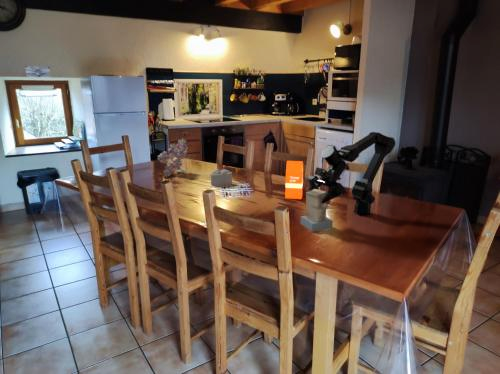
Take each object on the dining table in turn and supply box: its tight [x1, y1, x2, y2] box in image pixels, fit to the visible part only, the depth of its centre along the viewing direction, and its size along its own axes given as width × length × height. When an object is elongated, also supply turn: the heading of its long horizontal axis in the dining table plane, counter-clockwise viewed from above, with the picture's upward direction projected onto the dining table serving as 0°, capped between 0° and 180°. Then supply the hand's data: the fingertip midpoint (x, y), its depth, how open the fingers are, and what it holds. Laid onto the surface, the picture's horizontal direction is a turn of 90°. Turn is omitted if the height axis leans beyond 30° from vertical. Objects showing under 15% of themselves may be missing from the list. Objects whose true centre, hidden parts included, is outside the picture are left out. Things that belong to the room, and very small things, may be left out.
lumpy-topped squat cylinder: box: [210, 168, 233, 187], centre depth 227 cm, size 10×13×9 cm
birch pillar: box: [305, 189, 327, 222], centre depth 158 cm, size 6×6×12 cm
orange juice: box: [284, 160, 304, 200], centre depth 199 cm, size 8×9×20 cm
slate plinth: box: [300, 215, 334, 233], centre depth 160 cm, size 10×10×4 cm
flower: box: [157, 136, 188, 177], centre depth 252 cm, size 20×22×25 cm
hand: (314, 200), depth 157 cm, fingers open, 9 cm apart
